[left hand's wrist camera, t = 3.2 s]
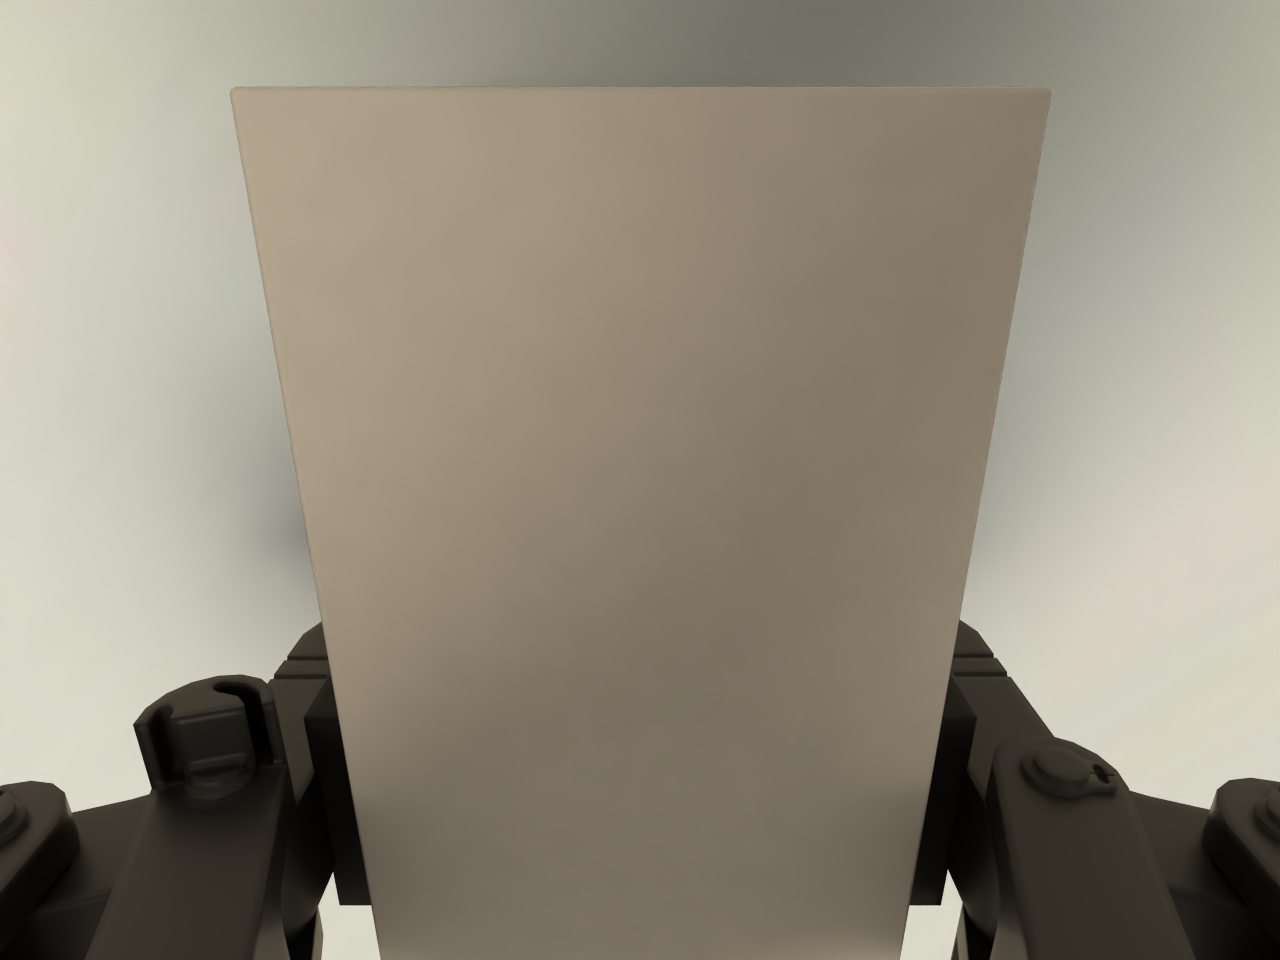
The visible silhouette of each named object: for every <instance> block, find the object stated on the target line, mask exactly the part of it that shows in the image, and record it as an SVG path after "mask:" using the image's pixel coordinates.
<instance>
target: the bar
mask: <svg viewBox="0 0 1280 960" xmlns="http://www.w3.org/2000/svg"><path fill="white" fill-rule="evenodd" d="M230 97H231V103H232V109H233V114H234V120H235V126H236V132H237V137H238V143H239V149H240V155H241V160H242V166H243V172H244V178H245V183H246V189H247V195H248V200H249V206H250V212H251V218H252V223H253V229H254V235H255V241H256V246H257V252H258V258H259V264H260V269H261V275H262V281H263V287H264V292H265V298H266V304H267V309H268V315H269V321H270V327H271V332H272V338H273V344H274V350H275V355H276V361H277V367H278V373H279V378H280V384H281V390H282V395H283V401H284V407H285V413H286V418H287V424H288V430H289V436H290V441H291V447H292V453H293V459H294V464H295V470H296V476H297V482H298V487H299V493H300V499H301V504H302V510H303V516H304V522H305V527H306V533H307V539H308V545H309V550H310V556H311V562H312V568H313V573H314V579H315V585H316V590H317V596H318V602H319V608H320V613H321V619H322V625H323V631H324V636H325V642H326V648H327V654H328V659H329V665H330V671H331V677H332V682H333V688H334V694H335V699H336V705H337V711H338V717H339V722H340V728H341V734H342V740H343V745H344V751H345V757H346V763H347V768H348V774H349V780H350V785H351V791H352V797H353V803H354V808H355V814H356V820H357V826H358V831H359V837H360V843H361V849H362V854H363V860H364V866H365V872H366V877H367V883H368V889H369V894H370V900H371V906H372V912H373V917H374V923H375V929H376V935H377V940H378V946H379V952H380V958H381V960H900V955H901V950H902V944H903V938H904V932H905V927H906V921H907V915H908V910H909V904H910V898H911V892H912V887H913V881H914V875H915V869H916V864H917V858H918V852H919V847H920V841H921V835H922V829H923V824H924V818H925V812H926V807H927V801H928V795H929V789H930V784H931V778H932V772H933V766H934V761H935V755H936V749H937V744H938V738H939V732H940V726H941V721H942V715H943V709H944V704H945V698H946V692H947V686H948V681H949V675H950V669H951V663H952V658H953V652H954V646H955V641H956V635H957V629H958V623H959V618H960V612H961V606H962V600H963V595H964V589H965V583H966V578H967V572H968V566H969V560H970V555H971V549H972V543H973V538H974V532H975V526H976V520H977V515H978V509H979V503H980V497H981V492H982V486H983V480H984V475H985V469H986V463H987V457H988V452H989V446H990V440H991V435H992V429H993V423H994V417H995V412H996V406H997V400H998V394H999V389H1000V383H1001V377H1002V372H1003V366H1004V360H1005V354H1006V349H1007V343H1008V337H1009V332H1010V326H1011V320H1012V314H1013V309H1014V303H1015V297H1016V291H1017V286H1018V280H1019V274H1020V269H1021V263H1022V257H1023V251H1024V246H1025V240H1026V234H1027V228H1028V223H1029V217H1030V211H1031V206H1032V200H1033V194H1034V188H1035V183H1036V177H1037V171H1038V166H1039V160H1040V154H1041V148H1042V143H1043V137H1044V131H1045V125H1046V120H1047V114H1048V108H1049V103H1050V97H1051V91H1050V89H1048V88H1046V87H235V88H233V89H231V91H230Z"/></svg>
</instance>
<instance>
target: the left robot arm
mask: <svg viewBox="0 0 1280 960" xmlns="http://www.w3.org/2000/svg"><path fill="white" fill-rule="evenodd" d="M993 655H994V654H993V652H992V651H991V650H990V648H989V647H988V645H987V644H986V643H985V641H984V640H983V639H982V637H981V636H980V634H979V633H978V632H977V631H976V630H974V629H973V628H971V627H970V626H968V625H967V624H965V623H964V622H963V621H961V620H960V619H959V623H958V629H957V635H956V641H955V646H954V652H953V658H952V663H951V669H950V675H949V681H948V686H947V692H946V698H945V704H944V709H943V715H942V721H941V726H940V732H939V738H938V744H937V749H936V755H935V761H934V766H933V772H932V778H931V784H930V789H929V795H928V801H927V807H926V812H925V818H924V824H923V829H922V835H921V841H920V847H919V852H918V858H917V864H916V869H915V875H914V881H913V887H912V892H911V898H910V904H909V905H941V901H942V896H943V891H944V886H945V881H946V876H947V870H949V872H950V875H951V877H952V879H953V881H954V884H955V886H956V888H957V890H958V893H959V895H960V897H961V900H962V902H963V904H962V909H961V913H960V918H959V923H958V928H957V932H956V937H955V942H954V947H953V952H952V956H951V960H1280V782H1276V781H1269V780H1262V779H1256V778H1244V779H1236V780H1229V781H1228V782H1226V783H1225V784H1224V785H1222V786H1221V787H1220V788H1219V789H1217V791H1216V794H1215V797H1214V800H1213V803H1212V806H1211V809H1210V810H1208V809H1204V808H1199V807H1195V806H1190V805H1186V804H1181V803H1177V802H1172V801H1168V800H1163V799H1159V798H1154V797H1150V796H1146V795H1143V794H1139V793H1136V792H1133V791H1129V788H1128V786H1127V785H1126V783H1125V782H1124V780H1123V779H1122V777H1121V776H1120V774H1119V773H1118V771H1117V770H1116V769H1115V768H1113V767H1112V766H1111V765H1110V764H1108V763H1107V762H1106V761H1105V760H1103V759H1102V758H1101V757H1100V756H1099V755H1097V754H1095V753H1093V752H1091V751H1089V750H1087V749H1085V748H1083V747H1081V746H1079V745H1077V744H1076V743H1074V742H1070V741H1067V740H1063V739H1060V738H1056V737H1054V736H1053V734H1052V733H1051V732H1050V730H1049V729H1048V727H1047V726H1046V725H1045V723H1044V722H1043V721H1042V719H1041V718H1040V717H1039V715H1038V714H1037V712H1036V711H1035V710H1034V708H1033V707H1032V706H1031V704H1030V703H1029V702H1028V700H1027V699H1026V697H1025V696H1024V695H1023V693H1022V692H1021V691H1020V689H1019V688H1018V686H1017V685H1016V684H1015V682H1014V681H1013V680H1012V678H1011V677H1007V671H1006V670H1005V669H1004V667H1003V666H1002V665H1001V663H1000V662H999V660H998V659H997V658H994V656H993ZM287 657H288V658H287V661H284V662H283V663H282V664H281V666H280V667H279V669H278V670H277V671H276V673H275V674H274V679H271V680H270V681H269V682H268V684H267V683H266V682H264V681H263V680H262V679H260V678H255V677H251V676H246V675H225V676H215V677H211V678H207V679H203V680H199V681H195V682H192V683H189V684H187V685H185V686H183V687H180V688H178V689H176V690H174V691H171V692H169V693H167V694H165V695H164V696H162V697H161V698H160V699H158V700H157V701H155V702H154V703H153V704H151V705H150V706H148V707H147V708H146V709H145V710H144V711H143V712H142V714H141V715H140V716H139V718H138V719H137V720H136V721H135V723H134V724H133V726H134V730H135V733H136V736H137V740H138V743H139V747H140V750H141V753H142V757H143V760H144V764H145V767H146V770H147V774H148V777H149V781H150V784H151V787H152V789H151V792H150V794H149V795H145V796H142V797H138V798H135V799H131V800H127V801H122V802H118V803H113V804H109V805H105V806H100V807H96V808H91V809H87V810H82V811H78V812H73V813H72V812H71V809H70V807H69V804H68V801H67V798H66V795H65V793H64V792H63V791H62V790H60V789H59V788H58V787H56V786H55V785H54V784H53V783H45V782H37V781H27V782H20V783H14V784H7V785H2V786H0V960H321V956H322V945H323V930H322V924H321V918H320V913H319V909H318V905H319V902H320V900H321V898H322V895H323V893H324V891H325V889H326V886H327V884H328V882H329V879H330V877H331V875H332V873H334V878H335V883H336V888H337V894H338V899H339V904H340V905H371V900H370V894H369V889H368V883H367V877H366V872H365V866H364V860H363V854H362V849H361V843H360V837H359V831H358V826H357V820H356V814H355V808H354V803H353V797H352V791H351V785H350V780H349V774H348V768H347V763H346V757H345V751H344V745H343V740H342V734H341V728H340V722H339V717H338V711H337V705H336V699H335V694H334V688H333V682H332V677H331V671H330V665H329V659H328V654H327V648H326V642H325V636H324V631H323V625H322V622H320V623H319V624H317V625H316V626H315V627H313V628H312V629H310V630H309V631H307V632H306V633H304V634H303V636H302V637H301V638H300V640H299V641H298V642H297V644H296V645H295V647H294V648H293V649H292V651H291V652H290V653H289V655H288V656H287Z"/></svg>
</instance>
